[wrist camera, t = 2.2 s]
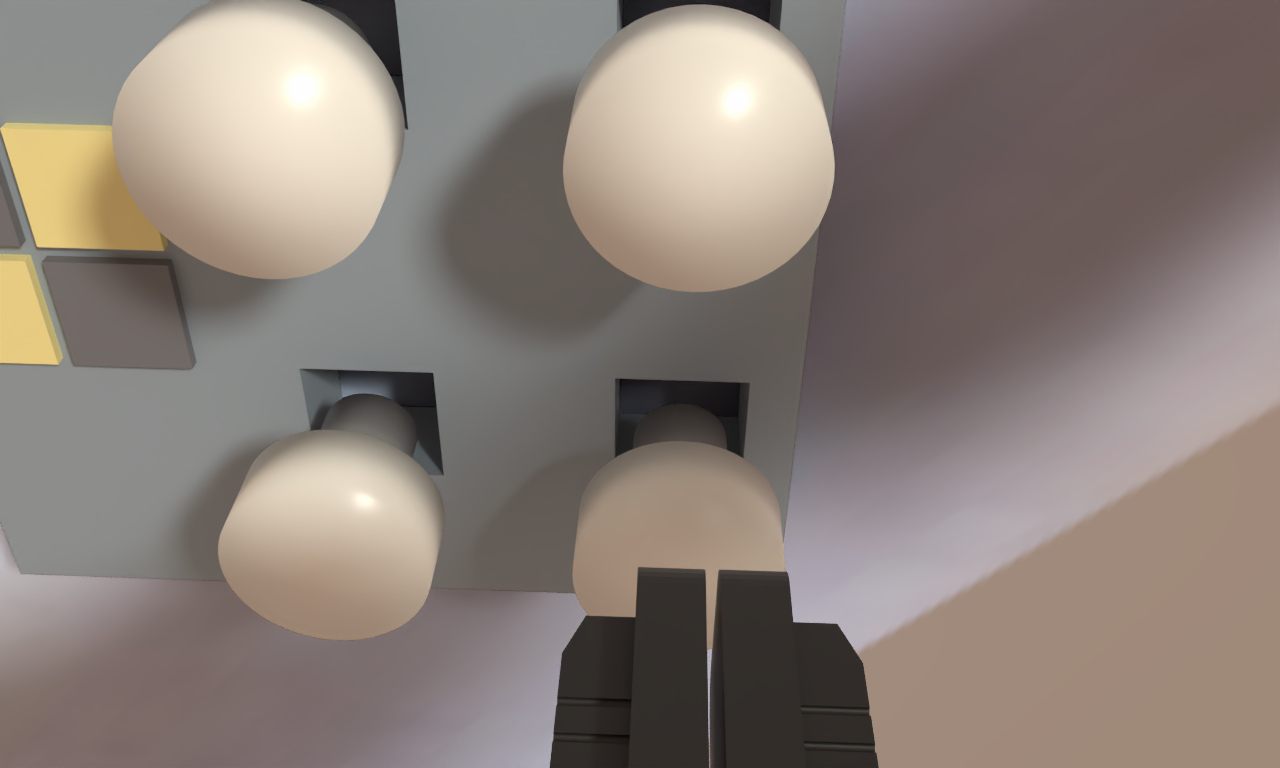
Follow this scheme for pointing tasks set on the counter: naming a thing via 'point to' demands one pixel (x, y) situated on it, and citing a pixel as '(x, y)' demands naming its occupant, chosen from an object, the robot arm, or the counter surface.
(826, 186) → the button
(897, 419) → the counter surface
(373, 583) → the button
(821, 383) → the counter surface
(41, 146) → the board
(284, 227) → the button
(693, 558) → the button
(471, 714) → the counter surface
